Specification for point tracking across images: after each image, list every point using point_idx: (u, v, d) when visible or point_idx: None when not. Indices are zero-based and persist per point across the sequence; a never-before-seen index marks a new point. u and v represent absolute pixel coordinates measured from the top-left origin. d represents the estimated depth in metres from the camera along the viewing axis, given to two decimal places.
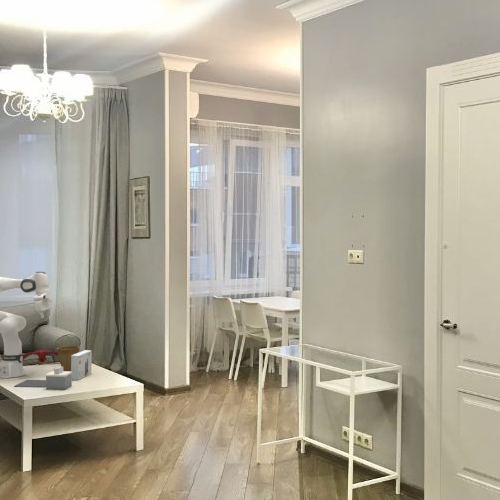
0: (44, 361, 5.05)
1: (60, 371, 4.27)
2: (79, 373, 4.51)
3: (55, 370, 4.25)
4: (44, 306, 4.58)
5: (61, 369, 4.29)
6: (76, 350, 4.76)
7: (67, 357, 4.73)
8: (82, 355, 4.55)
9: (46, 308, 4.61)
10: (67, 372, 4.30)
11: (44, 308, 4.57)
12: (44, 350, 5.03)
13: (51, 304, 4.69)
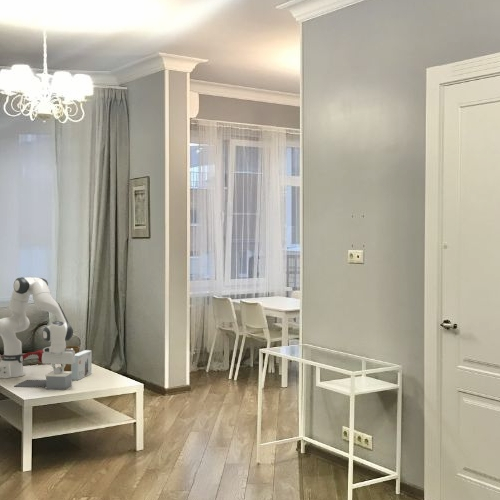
0: None
1: (60, 371, 4.27)
2: (79, 373, 4.51)
3: (55, 370, 4.25)
4: (51, 359, 4.27)
5: None
6: (76, 350, 4.76)
7: None
8: (82, 355, 4.55)
9: (55, 362, 4.27)
10: (67, 372, 4.30)
11: (50, 361, 4.27)
12: None
13: (68, 359, 4.25)
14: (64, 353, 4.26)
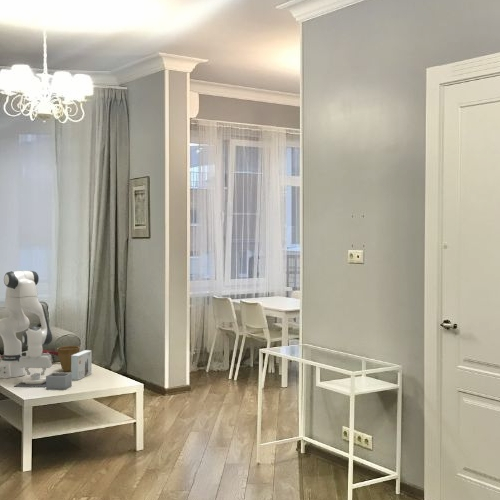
0: None
1: (37, 377, 4.39)
2: (79, 373, 4.51)
3: (32, 376, 4.37)
4: (28, 363, 4.39)
5: (38, 375, 4.40)
6: (76, 350, 4.76)
7: (67, 357, 4.73)
8: (82, 355, 4.55)
9: (32, 366, 4.38)
10: (44, 378, 4.41)
11: (27, 365, 4.39)
12: (44, 350, 5.03)
13: (45, 363, 4.37)
14: (41, 357, 4.37)
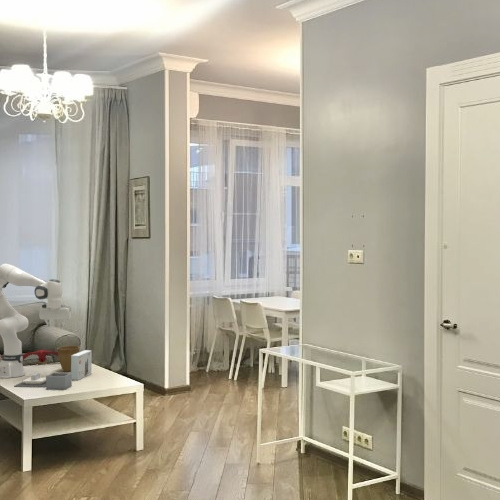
0: (44, 361, 5.05)
1: (37, 377, 4.39)
2: (79, 373, 4.51)
3: (32, 376, 4.37)
4: (48, 315, 4.49)
5: (38, 375, 4.40)
6: (76, 350, 4.76)
7: (67, 357, 4.73)
8: (82, 355, 4.55)
9: (52, 318, 4.49)
10: (44, 378, 4.41)
11: (47, 317, 4.49)
12: (44, 350, 5.03)
13: (64, 315, 4.48)
14: (60, 309, 4.48)
